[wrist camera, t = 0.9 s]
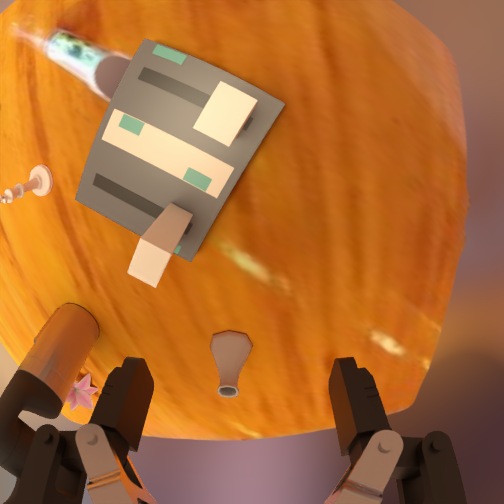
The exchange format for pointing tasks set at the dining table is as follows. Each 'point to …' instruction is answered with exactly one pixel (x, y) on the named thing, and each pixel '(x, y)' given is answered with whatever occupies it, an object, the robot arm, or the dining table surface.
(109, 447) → the robot arm
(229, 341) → the flask
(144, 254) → the tab
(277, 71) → the dining table surface
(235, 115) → the tab
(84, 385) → the lily
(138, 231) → the switch bank
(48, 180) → the chess piece
